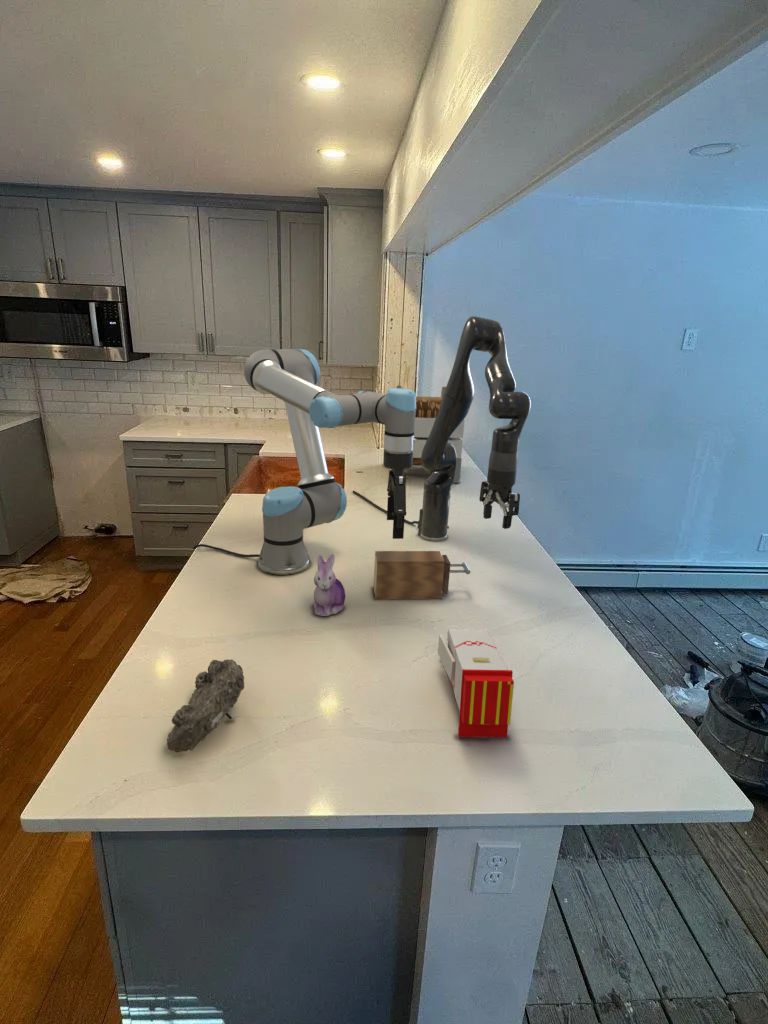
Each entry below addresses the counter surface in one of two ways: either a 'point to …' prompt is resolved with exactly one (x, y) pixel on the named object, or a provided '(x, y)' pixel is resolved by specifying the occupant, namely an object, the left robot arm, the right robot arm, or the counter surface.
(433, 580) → the cabinet
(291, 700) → the counter surface
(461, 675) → the toy
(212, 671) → the fossil
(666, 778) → the counter surface
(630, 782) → the counter surface
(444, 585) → the drawer
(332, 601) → the figurine
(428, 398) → the grey crate with legs
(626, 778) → the counter surface
